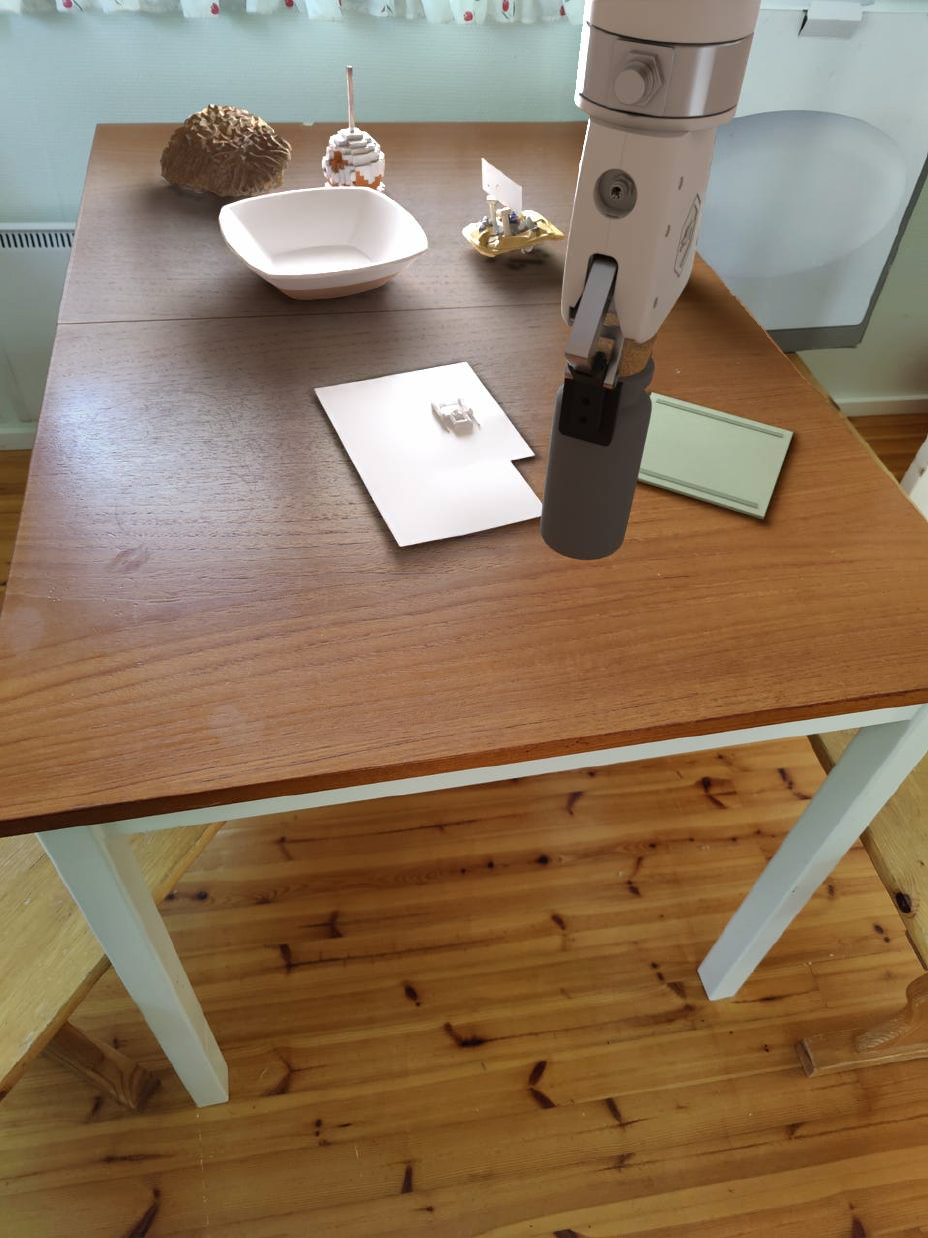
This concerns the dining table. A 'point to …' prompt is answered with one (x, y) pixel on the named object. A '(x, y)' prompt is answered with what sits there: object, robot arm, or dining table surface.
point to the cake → (507, 219)
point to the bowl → (323, 239)
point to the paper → (433, 452)
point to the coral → (225, 153)
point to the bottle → (598, 466)
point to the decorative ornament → (353, 154)
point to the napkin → (712, 455)
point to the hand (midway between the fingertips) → (603, 407)
